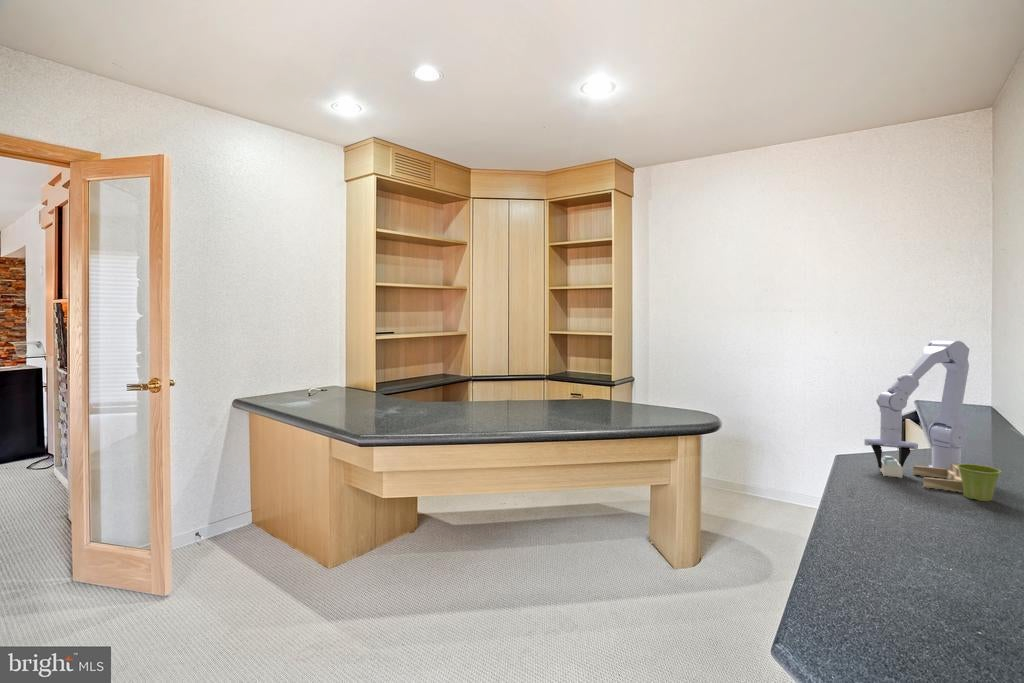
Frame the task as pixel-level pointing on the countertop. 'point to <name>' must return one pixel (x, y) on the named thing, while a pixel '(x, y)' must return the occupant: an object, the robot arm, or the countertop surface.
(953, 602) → the countertop surface
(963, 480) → the plant pot
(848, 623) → the countertop surface
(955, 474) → the light wooden angled piece
